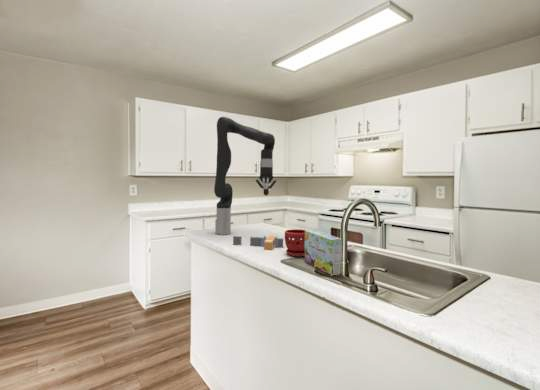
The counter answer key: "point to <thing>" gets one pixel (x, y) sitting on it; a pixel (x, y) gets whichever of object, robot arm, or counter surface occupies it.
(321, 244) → the snack box
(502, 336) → the counter surface
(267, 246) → the banded orange pillar
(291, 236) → the plant pot
